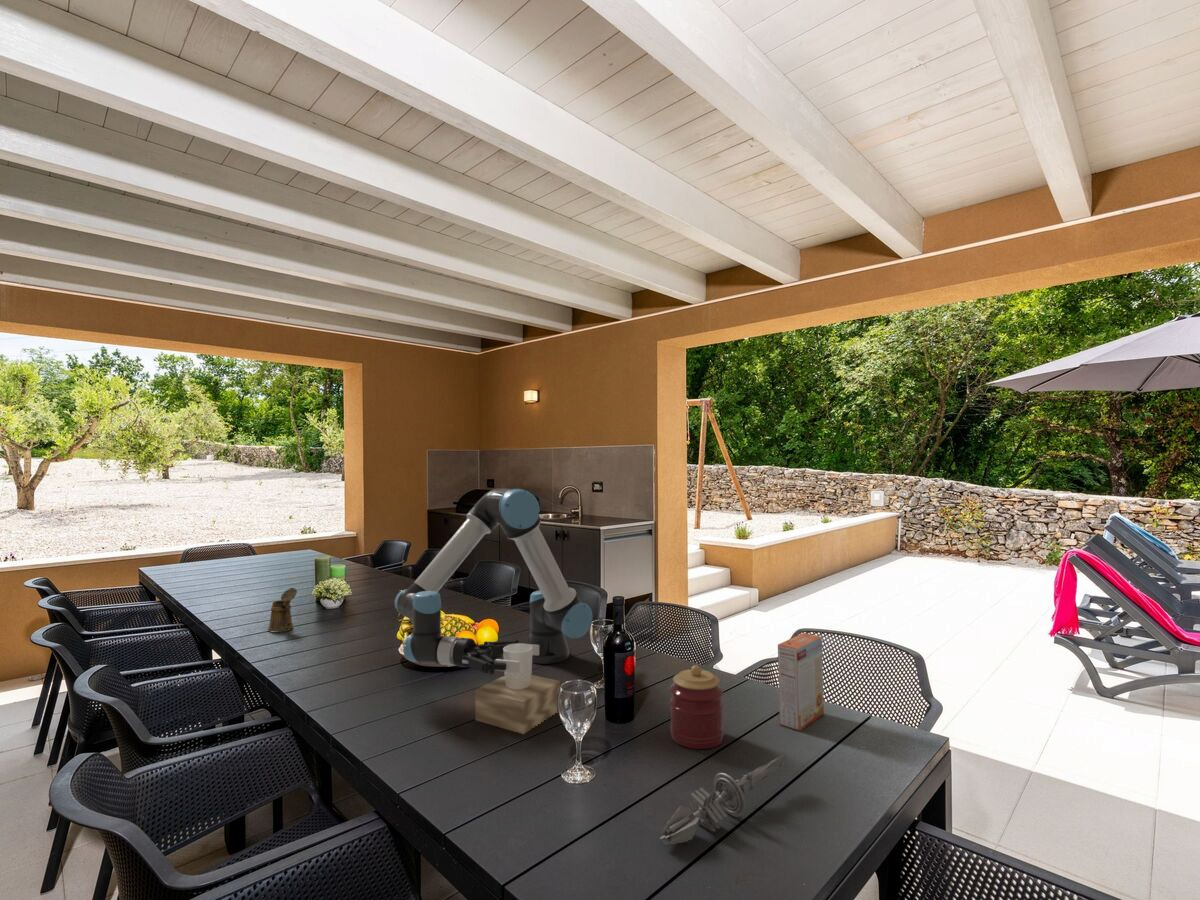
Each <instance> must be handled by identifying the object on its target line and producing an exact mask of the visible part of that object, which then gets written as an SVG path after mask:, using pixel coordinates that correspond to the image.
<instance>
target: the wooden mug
mask: <svg viewBox="0 0 1200 900" xmlns="http://www.w3.org/2000/svg"><path fill="white" fill-rule="evenodd" d="M297 591H298V589H296V588H293V587H290V588H289V589H286V590H285V591H284V592H283V593H282V594H281V595H280V600H275V601H273V602H272V605H271V607H270V610H271V611H270V617H269V618H270V619H269V626H268V628H267V631H268V630H269V631H284V630H288V629H291V628H292V629H293V628H294V623H293V622H292V621H293V620H292V614H291V613H292V611H291V609H292V607H291V601H292V600H293V599H294V598H295V597H296V595H297V593H298V592H297ZM292 629H291V630H292ZM288 631H289V630H288ZM284 632H285V631H284Z"/></svg>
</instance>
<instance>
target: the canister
mask: <svg viewBox="0 0 1200 900" xmlns="http://www.w3.org/2000/svg"><path fill="white" fill-rule="evenodd" d="M672 680H673V683H672V684H671V685H670V686H669V691H670V693H671V698H670V700H669V704H670V724H669V725H670V726H669V732H670V737H671V739H672V740H673V742H675V743H676V744H677V745H679V746H682V747H685V748H687V749H694V750H707V749H712V748H716V747H718V746H719V745H721V744H722V742H723V738H724V734H725V733H724V730H725V729H724V721H723V719H724V716H723V715H724V714H723V709H724V703H723V701H722V696H723V695H724V689H723V688H722V687H721V686H720V682H721V681H720V678H719V677H718V676H717V675H715V674H713V673H712V672H710V671H708V670H705V669H702V668H701V666H700V665H698V664H693V665H692V666H691V668H689V669H684V670H681V671H680V672H679V673H677V674H675V675H674V676H673V678H672Z"/></svg>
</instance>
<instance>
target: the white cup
mask: <svg viewBox="0 0 1200 900" xmlns="http://www.w3.org/2000/svg"><path fill="white" fill-rule="evenodd" d="M532 654H533V647H532V646H531V645H529V644H528V643H522V642H521V643H520V642H519V643H517V644H510V645H507V646H505V647H504V648H503V654H502V655H503V660H513V661H520V672H519V673H516V672H506V671H503V672H504V675H505V685H506V687H507V688H509V689H513V690H520V689H525V688H527V687H529V686H530V685H531V675H532V670H533V662H532Z"/></svg>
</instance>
